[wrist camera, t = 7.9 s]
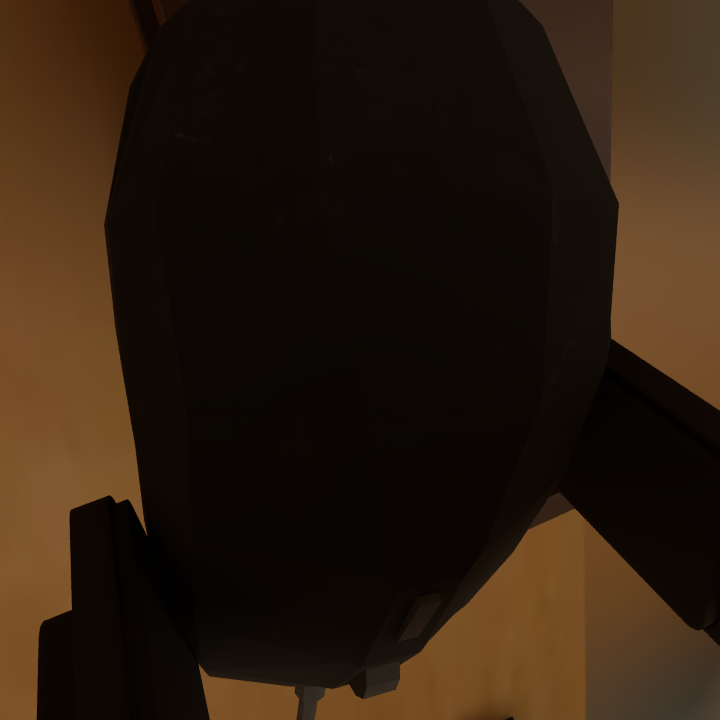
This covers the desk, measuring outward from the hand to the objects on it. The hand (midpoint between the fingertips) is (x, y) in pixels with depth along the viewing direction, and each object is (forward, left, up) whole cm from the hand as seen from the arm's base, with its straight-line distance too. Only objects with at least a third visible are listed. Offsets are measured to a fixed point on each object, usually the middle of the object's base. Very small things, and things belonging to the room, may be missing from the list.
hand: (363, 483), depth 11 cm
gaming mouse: (0, 0, -1) cm, 1 cm away
